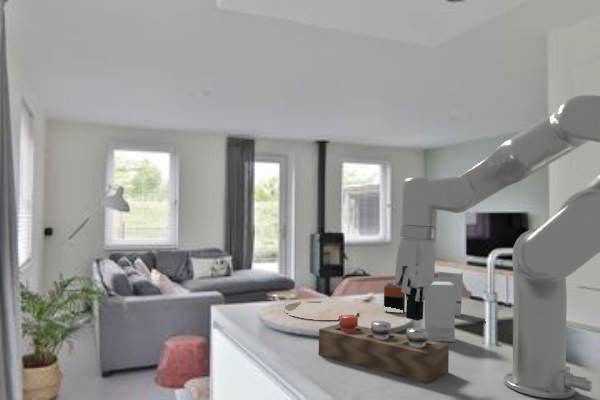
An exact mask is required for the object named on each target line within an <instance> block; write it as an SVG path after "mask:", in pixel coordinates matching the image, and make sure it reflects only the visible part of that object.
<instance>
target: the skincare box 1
mask: <svg viewBox="0 0 600 400" xmlns="http://www.w3.org/2000/svg"><path fill="white" fill-rule="evenodd" d="M454 292H455V285H454V284H452V283H451V282H438V281H433V283H432V284H431V285H429V289H428V290H427V291H426V292H425V299H424V305H423V319H422V320H420V323H421V328H422V329H426V330H427V331H428V340H430V341H435V342H442V341H443V342H442V343H445V342H446V343H447V342H448V343H449V342H450V343H452V342H453V343H454V342H456V339H455V338H456V335H455V331H456V330H455V329H456V327H455V325H456V323H455V322H456V319H455V318H456V317H455V295H454Z"/></svg>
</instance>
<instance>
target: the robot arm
mask: <svg viewBox="0 0 600 400" xmlns="http://www.w3.org/2000/svg"><path fill="white" fill-rule="evenodd" d="M587 142H597V143H600V95H593V94H592V95H590V94H588V95H587V94H585V95H577V96H574V97H570V98H569V99H567V100H566V101H564V102H563V103H562V104H561V105H560V106H559V108H558V109H556V110H555V111H553V112H552V113H549V114H548V115H546V116H545V117H543V118H542V119H540V120H539V121H537V122H536V123H534V124H532V125H531V126H528V128H526V129H524V130H523V131H520V132H518V133H517V134H516V135H514V136H512V137H511V138H509V139H507V140H506V141H505V142H503V143H502V144H501V145H499V146H498V147H497V148H496V149H495V150H494V151H493V152H492V153H491V154H490V155H488V157H486V158H485V159H484V160H482V161H481V162H480V163H477V165H475V166H473V167H472V168H470V169H469V170H467V171H465V172H464V173H462V174H460V175H458V176H448V177H440V178H431V177H424V176H423V177H418V176H417V177H414V176H413V177H408V178H406V179H404V181H403V182H402V190H401V191H402V195H401V215H400V237H399V243H398V248H397V252H396V253H397V254H396V260H395V261H396V262H395V268H394V269H395V271H394V284H395V285H397V286H402V289H401V292H402V293H404V294H405V301H406V306H405V308H406V310H405V317H406V319H410V320H413V321H421V320H422V319H423V305H424V299H425V292H426V291H427V290H428V289H429V285H431V284H432V283H433V282H435V281H434V280H435V270H436V268H435V266H436V265H435V263H436V259H435V258H436V256H435V243H437V242H436V241H437V225H438V224H437V223H438V221H437V220H438V218H437V217H438V211H444V212H450V213H453V214H462V213H465V212H466V211H468V210H470V209H471V208H473V207H474V206H476V205H478V204H480V203H482V202H484V201H485V200H486V199H488V198H490V197H491V196H493V195H494V194H497V193H499V192H500V191H501V190H504V189H505V188H507V187H509V186H511V185H513V184H517V183H519V182H521V181H523V180H525V179H527V178H528V177H530V176H531V175H533V174H535V173H537V172H538V171H540V170H542V169H543V168H546V167H547V166H549V165H551V164H552V163H553V162H556V161H557V160H559V159H561V158H562V157H564V156H566V155H568V154H569V153H571V152H573V151H575V150H576V149H578V148H580V147H581V146H583V145H584V144H587ZM598 254H600V173H598V174H597V175H596V176H595V177H594V178H593V179H592V180H590V181H589V182H588V183H587V184H585V185H584V186H583V187H582V188H580V190H579V191H576V192H575V193H573V194H572V195H571V196H570V197H568V198H567V199H566V200H564V202H562V203H561V205H560V207H559V209H558V212H557V213H556V214H555V215H554V216H552V217H551V218H550V219H549V220H547V221H546V222H545V223H544V224H543V225H542V226H540V227H539V228H532V229H530V230H527V231H524V232H523V233H522V234H520V235H519V236H518V237H517V239H516V241H515V243H514V245H513V248H512V274H513V277H512V278H513V279H512V280H513V308H512V309H513V310H512V314H513V315H512V318H513V319H512V371H510V372H508V373H506V374H505V375H504V378H503V381H504V383H505V385H506V386H507V387H508V388H510V389H512V390H513V391H516V392H518V393H521V394H524V395H528V396H532V397H537V398H543V399H554V400H556V399H559V400H560V399H561V400H562V399H569V398H571V397H574V395H575V394H576V389H579V390H581V391H586V392H592V388H593V387H592V386H593V382H592V381H591V380H588V379H587V377H586V376H585V377H583V376H578V375H574V373H571V367H570V366H567V311H568V310H567V307H568V306H567V305H568V304H567V303H568V301H567V300H568V299H567V297H568V296H567V294H568V293H567V283H566V282H567V281H566V279H567V277H570V276H571V275H572V274H574V273H575V272H577V271H578V270H579V269H580V268H581V267H583V266H584V265H585V264H587V263H588V262H589V261H590V260H592V259H593V258H594V257H595V256H596V255H598Z"/></svg>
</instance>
